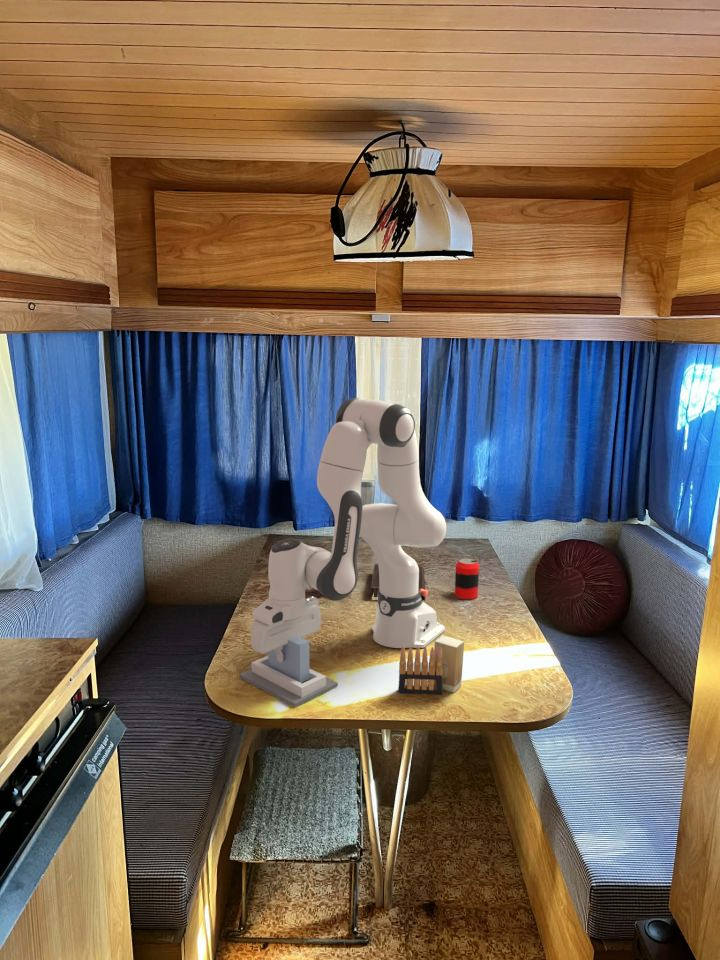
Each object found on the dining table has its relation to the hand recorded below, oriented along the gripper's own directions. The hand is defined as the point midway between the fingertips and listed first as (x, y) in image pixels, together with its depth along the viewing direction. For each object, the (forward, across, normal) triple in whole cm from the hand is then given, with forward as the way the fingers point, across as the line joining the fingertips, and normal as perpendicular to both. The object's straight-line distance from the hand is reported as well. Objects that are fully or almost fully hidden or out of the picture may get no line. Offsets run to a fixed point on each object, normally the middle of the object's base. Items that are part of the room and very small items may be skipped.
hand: (288, 657), depth 180 cm
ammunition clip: (+7, -19, +27) cm, 34 cm away
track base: (+7, 0, 0) cm, 7 cm away
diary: (+8, -70, -23) cm, 74 cm away
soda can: (+7, -80, -2) cm, 80 cm away
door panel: (+4, 0, 0) cm, 4 cm away
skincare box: (+7, -26, +30) cm, 40 cm away
